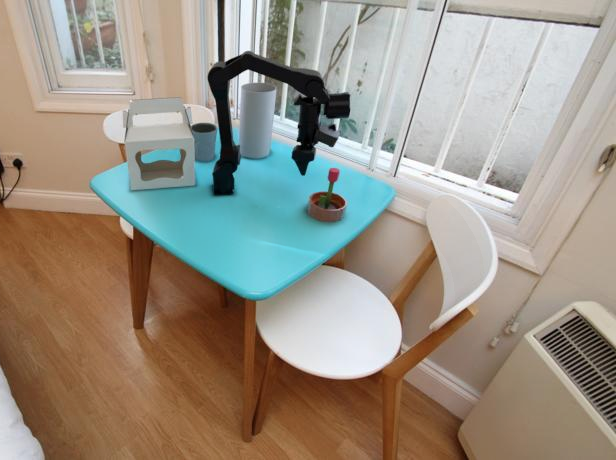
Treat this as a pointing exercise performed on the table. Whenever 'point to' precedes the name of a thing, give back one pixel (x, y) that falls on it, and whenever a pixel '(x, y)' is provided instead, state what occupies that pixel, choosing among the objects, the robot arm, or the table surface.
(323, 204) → the tulip
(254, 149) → the cylinder vase
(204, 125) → the grey cup
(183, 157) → the gable box
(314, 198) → the bowl
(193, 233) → the table surface
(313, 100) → the robot arm
